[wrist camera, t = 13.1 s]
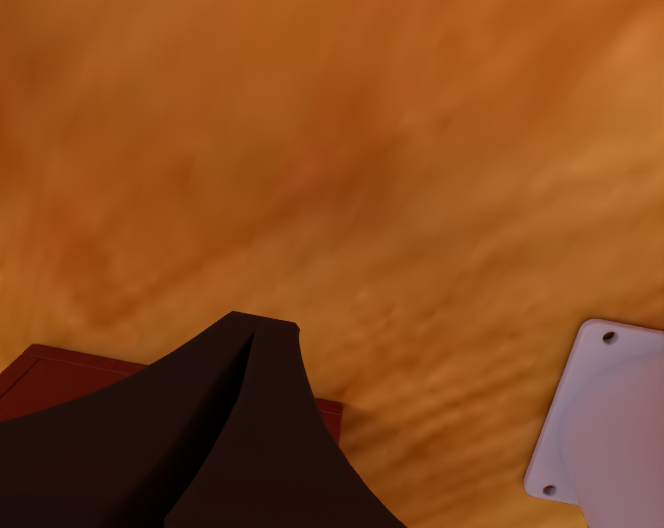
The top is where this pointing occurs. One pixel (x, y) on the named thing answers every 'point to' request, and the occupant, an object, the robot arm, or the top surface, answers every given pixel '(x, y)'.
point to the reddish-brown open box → (81, 382)
